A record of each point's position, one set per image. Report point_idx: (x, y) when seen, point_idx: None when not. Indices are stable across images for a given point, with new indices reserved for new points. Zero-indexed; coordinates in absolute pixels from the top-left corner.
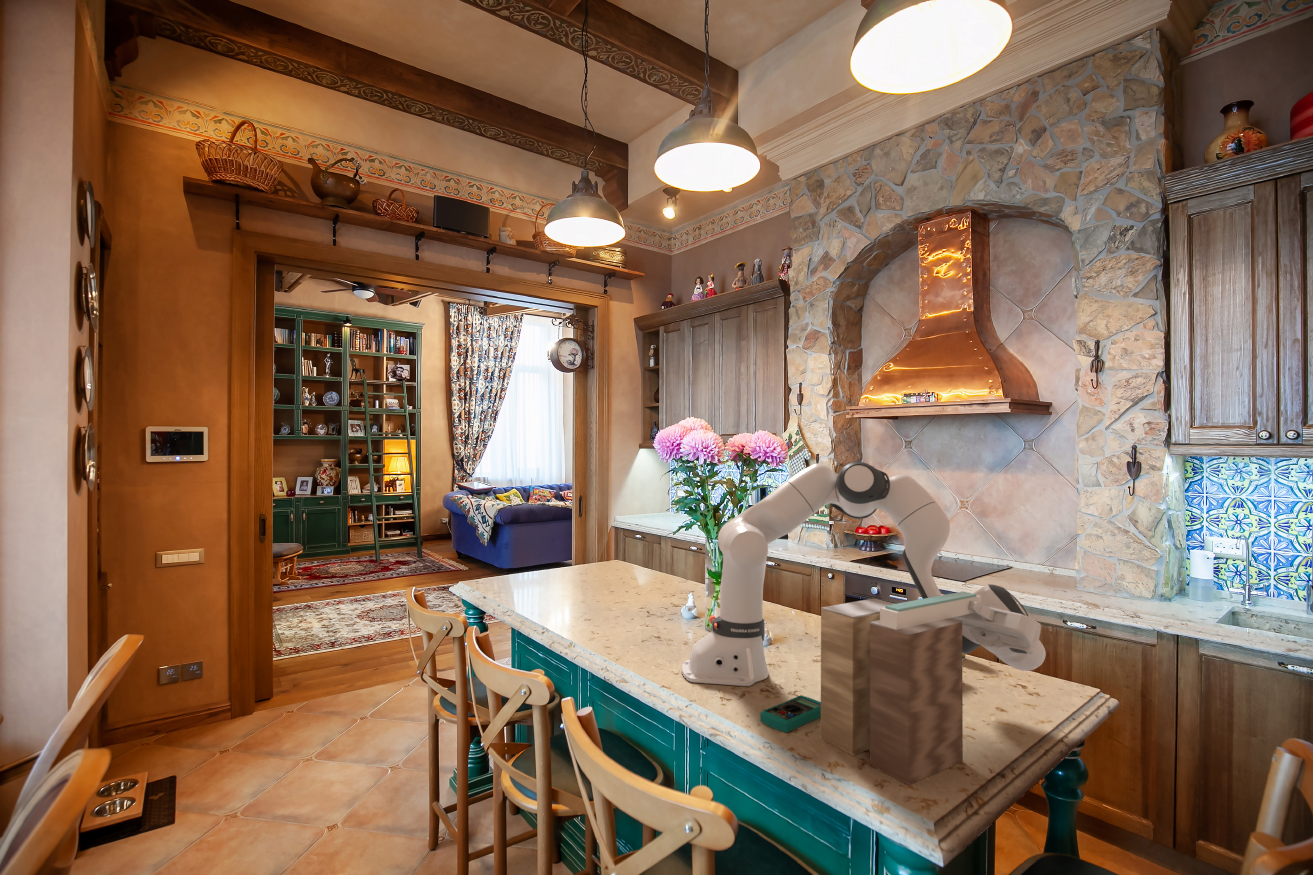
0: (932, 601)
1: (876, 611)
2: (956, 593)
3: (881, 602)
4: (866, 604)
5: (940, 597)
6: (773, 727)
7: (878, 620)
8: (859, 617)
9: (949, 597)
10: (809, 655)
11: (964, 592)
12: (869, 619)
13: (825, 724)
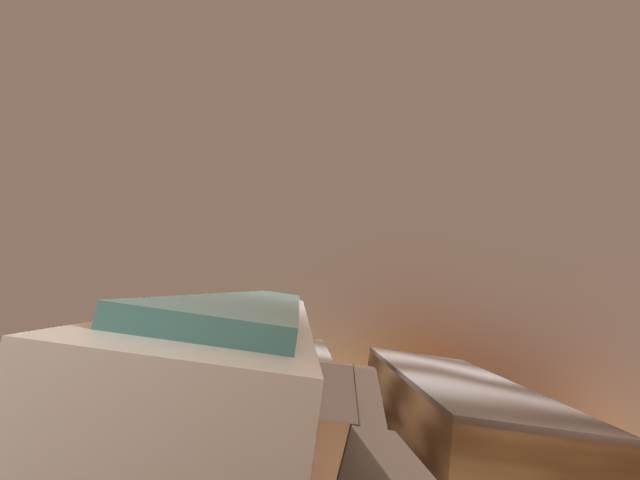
0: (256, 293)
1: (399, 367)
2: (278, 311)
3: (542, 416)
4: (498, 390)
5: (274, 299)
6: None
7: (324, 344)
8: (374, 355)
9: (247, 297)
10: None
11: (254, 319)
12: (381, 374)
13: None
